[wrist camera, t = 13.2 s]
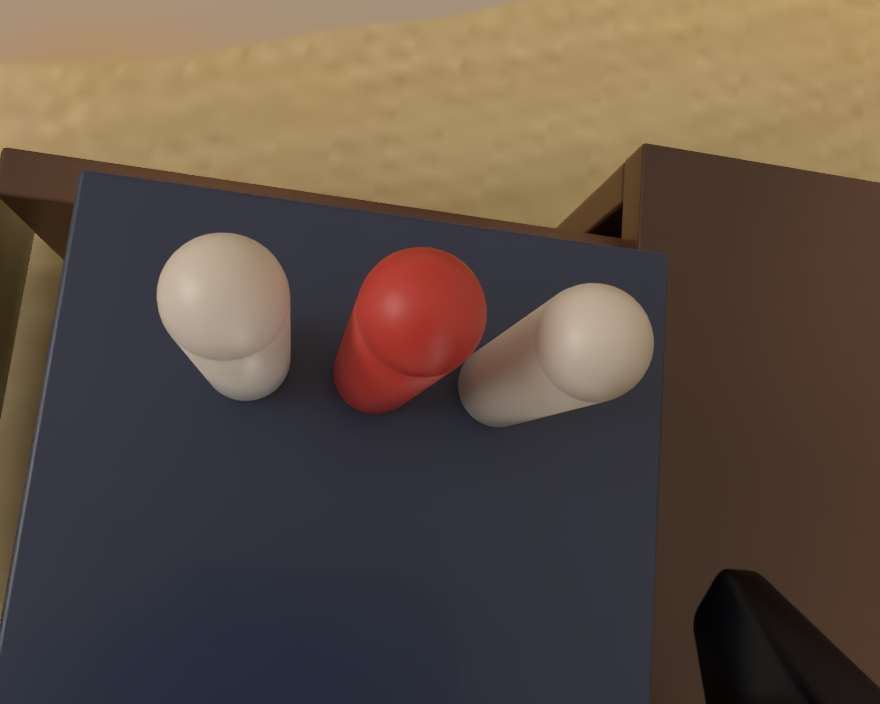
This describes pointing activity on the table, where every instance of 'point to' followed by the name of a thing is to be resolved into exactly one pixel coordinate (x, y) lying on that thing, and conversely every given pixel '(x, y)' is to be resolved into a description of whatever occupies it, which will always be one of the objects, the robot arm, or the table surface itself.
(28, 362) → the table surface
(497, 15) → the table surface
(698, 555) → the cabinet
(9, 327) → the drawer
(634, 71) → the table surface
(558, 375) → the straw box
